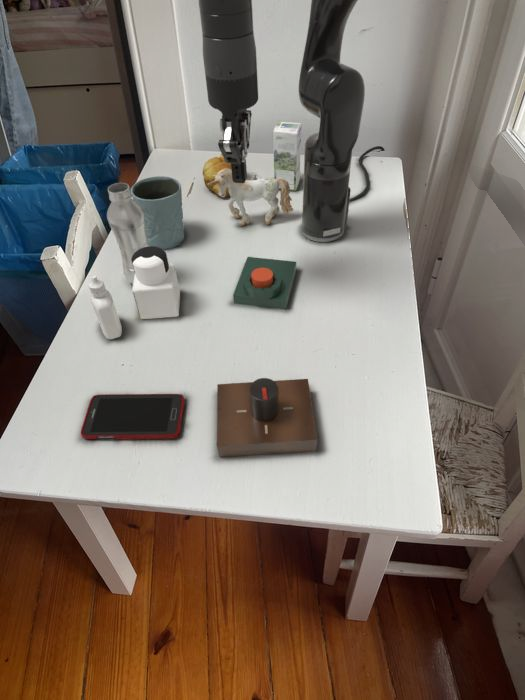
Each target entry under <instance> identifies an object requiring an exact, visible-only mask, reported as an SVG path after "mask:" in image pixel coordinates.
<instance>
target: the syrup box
mask: <svg viewBox="0 0 525 700" xmlns="http://www.w3.org/2000/svg"><path fill="white" fill-rule="evenodd" d="M272 133H273V134H272V137H273V179H278V178H283V179H285V180H286V181H287V182H288V183H289V187H290V190H289V191H293V192H295V191H297V189H298V187H299V184H300V181H301V150H302V149H301V148H302V123H301V122H291V121H290V122H289V121H277V123H276V124H275V126H274V129H273V132H272ZM279 190H281V186H280V185H279Z"/></svg>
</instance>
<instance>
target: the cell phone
mask: <svg viewBox="0 0 525 700" xmlns="http://www.w3.org/2000/svg"><path fill="white" fill-rule="evenodd" d="M184 407H185V397H184V395H183V394H181V393H132V394H131V393H125V394H123V393H122V394H120V393H119V394H118V393H117V394H112V393H110V394H107V393H106V394H95V395H93V396H92V397H91V399H90V401H89V404H88V407H87V409H86V413H85V416H84V419H83V423H82V425H81V431H80V435H81V437H82V438H83V439H86V440H87V439H88V440H91V439H93V440H97V439H115V440H116V439H117V440H120V439H122V440H124V439H126V440H127V439H128V440H129V439H131V440H133V439H134V440H135V439H136V440H137V439H175V438H178V437H179V435H180V432H181V426H182V421H183V420H182V417H183V414H184Z"/></svg>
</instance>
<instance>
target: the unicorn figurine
mask: <svg viewBox="0 0 525 700" xmlns="http://www.w3.org/2000/svg"><path fill="white" fill-rule="evenodd" d="M212 176H213V177H215V178H216V179H215V181H213V182H211V183H208V185H213V184H216V185H217V186H218V188H219V195H218V196H219V197H221V198H225V197H226V196H225V195H226V192H225V190H226V187H227V186H228V188H229V194H230V195H229V197H230V198H229V200H228V203H227V206H228V208H229V210H230V212H231V214H232V215H233V216H234V217H235V218H236V219H240V213H241V215H242V217H241V220H240V221H239V223H238V226H240V227H244V226H245V225H246V223H247V224H250V221H249V220H250V215H249V214H248V213H247V212H246V208H245V205H244V202H256V201H258V200H260V199H264V200H265V201H266V202H267V203H268V205H269V206H270V209H269V210H268V211H267V213H266V214H264V215H265V216H264V219H265V220H264V221H265V224H266V225H269V224H270V223H271V222H272V220H271V219H272V218H274V217H275V216H276V215H278V214H279V213H280V208H281V211H283V212H284V214H286V215H289V213H290V212H293V211H294V208H293V207H292V206H293V205H291V201H293V199H292V198H291V196H290V193H291V190H290V187H289V183H288V182H287V181H286V180H285V179H283V178H278V179H274V177H262V178H258V179H253V180H249V179H246V181H245V183H234V182H233V180H232V170H230V169H228V168H225V169H223V170H221V171H219V172H218V173H217V175H212ZM279 185H280V186H281V189H279ZM279 190H280V200H279V198H278V197H277V196H278V194H279ZM234 203H236V204H237V206H238V207H234ZM279 205H280V206H281V207H280V206H279Z"/></svg>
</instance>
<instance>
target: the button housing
mask: <svg viewBox="0 0 525 700" xmlns="http://www.w3.org/2000/svg"><path fill="white" fill-rule="evenodd" d="M257 268H268V269H270V270H271V271H272V272H273V284H272V285H271V286H270V287H266V288H257V287H255V286H253V284H252V278H251V274H252V272H253V271H254V270H255V269H257ZM296 273H297V261H293V260H283V259H274V258H263V257H255V256H247V257H246V260H245V262H244V265H243V268H242V271H241V273H240V276H239V277H238V278H239V279H238V281H237V283H236V285H235V289H234V292H233V294H232V297H233V304H234V305H242V306H243V305H244V306H250V307H251V306H253V307H259V308H268V309H276V310H287V307H288V303H289V300H290V297H291V296H290V295H291V292H292V288H293V284H294V280H295V277H296Z"/></svg>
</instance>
